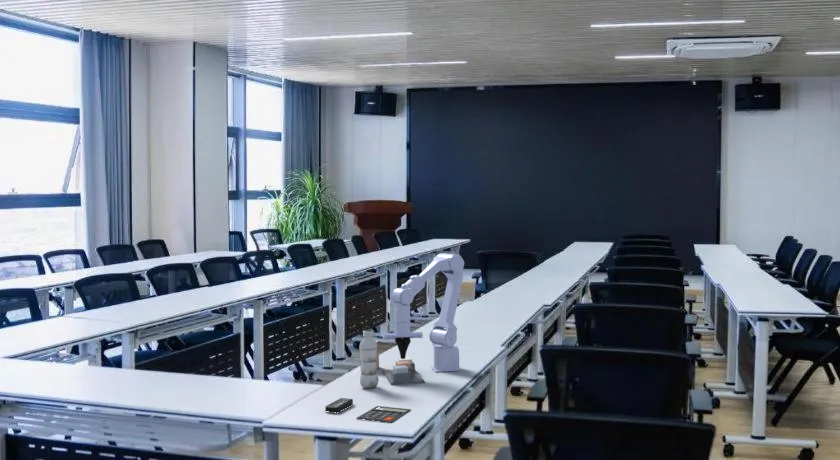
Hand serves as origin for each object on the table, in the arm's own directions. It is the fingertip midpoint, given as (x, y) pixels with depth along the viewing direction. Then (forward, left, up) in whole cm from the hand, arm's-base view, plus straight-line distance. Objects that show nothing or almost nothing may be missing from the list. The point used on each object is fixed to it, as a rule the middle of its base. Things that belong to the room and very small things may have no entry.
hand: (402, 358), depth 305 cm
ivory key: (-2, -7, -4) cm, 8 cm away
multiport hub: (+27, +37, -8) cm, 46 cm away
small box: (+10, -17, -7) cm, 21 cm away
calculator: (+14, +47, -8) cm, 50 cm away
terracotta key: (0, 0, -4) cm, 4 cm away
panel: (0, 0, -7) cm, 7 cm away
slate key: (+2, +7, -4) cm, 8 cm away
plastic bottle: (+14, +12, -7) cm, 20 cm away
